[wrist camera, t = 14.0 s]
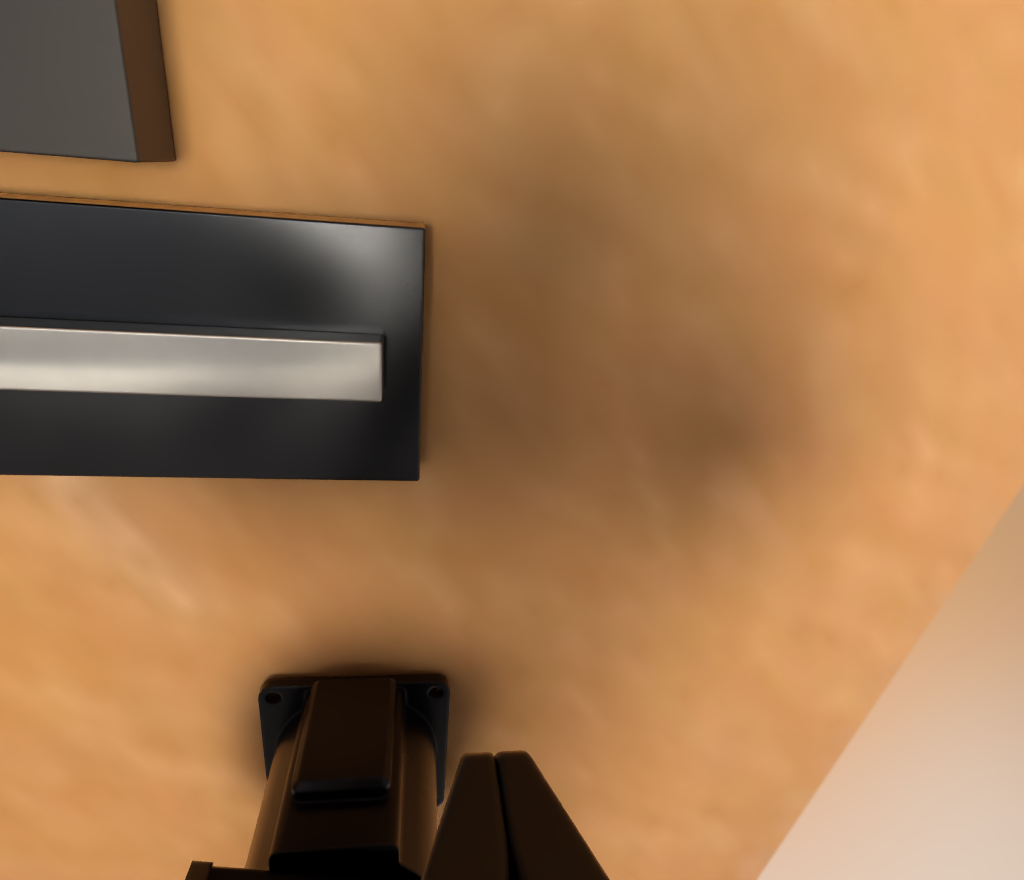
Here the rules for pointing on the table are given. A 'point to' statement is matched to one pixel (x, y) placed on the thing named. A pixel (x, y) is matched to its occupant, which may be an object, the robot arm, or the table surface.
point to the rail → (208, 342)
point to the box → (83, 80)
